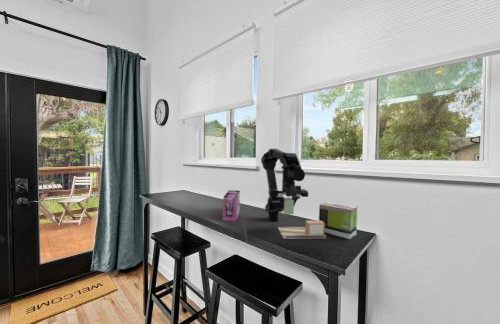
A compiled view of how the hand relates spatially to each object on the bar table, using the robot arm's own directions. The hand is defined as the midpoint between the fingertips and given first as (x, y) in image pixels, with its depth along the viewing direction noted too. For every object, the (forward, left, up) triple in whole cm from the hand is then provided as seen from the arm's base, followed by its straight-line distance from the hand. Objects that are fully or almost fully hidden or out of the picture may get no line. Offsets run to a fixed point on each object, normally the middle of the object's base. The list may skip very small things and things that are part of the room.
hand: (287, 210), depth 109 cm
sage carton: (0, 0, -1) cm, 1 cm away
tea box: (+3, +24, -12) cm, 27 cm away
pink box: (+8, +11, -10) cm, 17 cm away
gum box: (-29, -28, -12) cm, 42 cm away
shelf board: (+4, +5, -11) cm, 13 cm away
